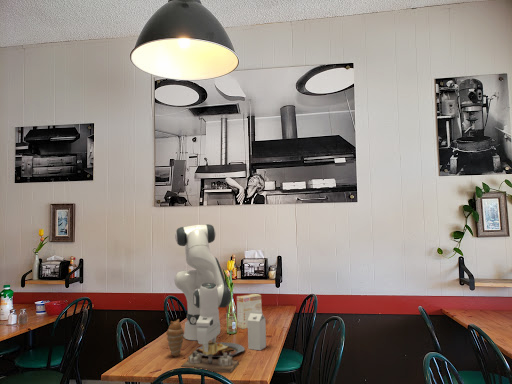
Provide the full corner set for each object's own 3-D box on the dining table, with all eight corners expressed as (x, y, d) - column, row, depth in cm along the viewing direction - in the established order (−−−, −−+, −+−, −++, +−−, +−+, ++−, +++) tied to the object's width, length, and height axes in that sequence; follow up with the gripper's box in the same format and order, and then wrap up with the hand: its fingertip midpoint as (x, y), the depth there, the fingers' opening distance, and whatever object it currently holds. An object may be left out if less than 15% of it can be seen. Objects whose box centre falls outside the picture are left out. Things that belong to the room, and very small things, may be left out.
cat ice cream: (177, 352, 219) (176, 317, 221) (187, 355, 214) (187, 319, 216) (163, 357, 213) (163, 320, 214) (173, 360, 208) (173, 322, 209)
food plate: (218, 363, 201) (218, 355, 201) (186, 355, 216) (186, 347, 216) (252, 351, 220) (252, 344, 220) (221, 344, 235) (221, 338, 235)
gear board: (191, 360, 206) (191, 347, 206) (238, 363, 200) (238, 349, 200) (181, 369, 194) (180, 354, 195) (230, 372, 188) (230, 357, 189)
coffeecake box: (256, 323, 279) (256, 293, 280) (262, 325, 273) (261, 294, 274) (236, 326, 271) (236, 296, 272) (242, 329, 265) (241, 297, 266)
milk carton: (254, 345, 229) (253, 309, 230) (266, 347, 226) (265, 310, 227) (248, 349, 223) (247, 312, 224) (260, 350, 219) (259, 313, 221)
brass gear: (205, 349, 201) (205, 341, 202) (219, 350, 200) (219, 342, 200) (200, 354, 195) (200, 345, 195) (214, 354, 193) (214, 346, 194)
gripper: (211, 313, 209) (211, 342, 208) (194, 323, 190) (194, 355, 189) (223, 314, 208) (223, 343, 207) (207, 323, 188) (208, 355, 187)
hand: (209, 348), depth 197 cm, fingers closed on brass gear, 7 cm apart
